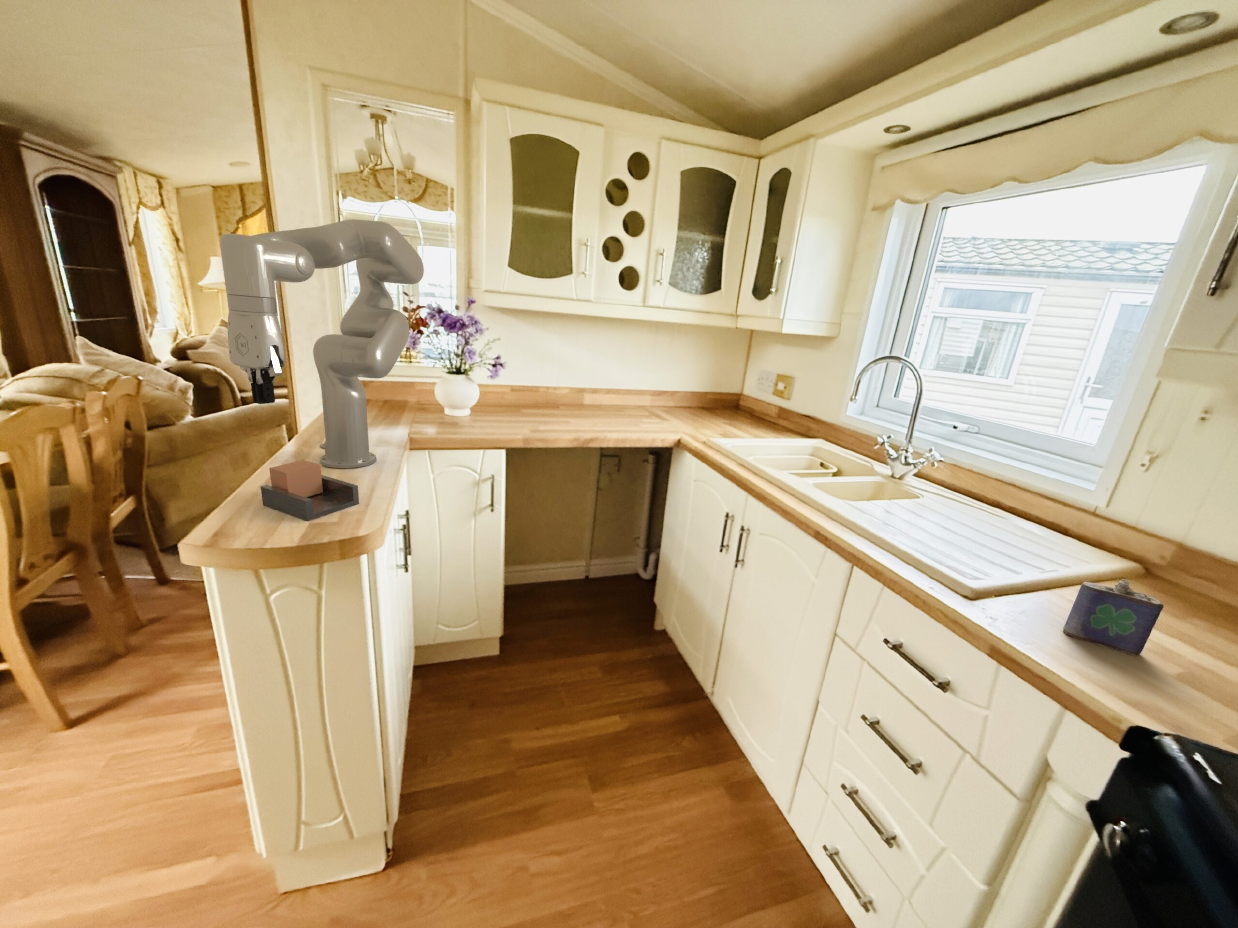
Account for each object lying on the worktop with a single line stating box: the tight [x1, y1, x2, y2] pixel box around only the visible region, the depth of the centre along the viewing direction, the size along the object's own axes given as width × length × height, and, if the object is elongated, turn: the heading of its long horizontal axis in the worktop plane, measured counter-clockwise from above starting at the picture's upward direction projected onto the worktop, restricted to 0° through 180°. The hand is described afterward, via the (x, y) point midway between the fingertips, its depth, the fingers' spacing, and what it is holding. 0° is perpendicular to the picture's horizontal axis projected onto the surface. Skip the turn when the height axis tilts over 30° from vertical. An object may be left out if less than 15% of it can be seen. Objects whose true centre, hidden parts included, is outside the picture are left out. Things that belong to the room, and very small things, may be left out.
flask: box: [1062, 578, 1164, 657], centre depth 75 cm, size 9×3×11 cm, turn 59°
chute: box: [260, 474, 360, 522], centre depth 99 cm, size 13×11×4 cm
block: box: [268, 459, 323, 497], centre depth 100 cm, size 5×7×6 cm
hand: (264, 402), depth 98 cm, fingers closed
